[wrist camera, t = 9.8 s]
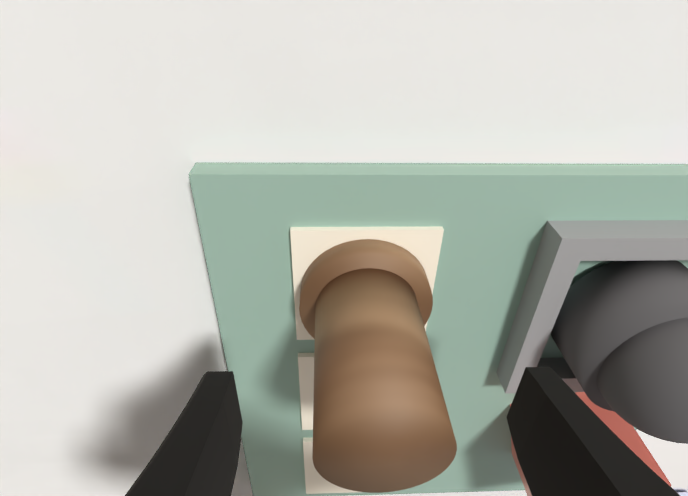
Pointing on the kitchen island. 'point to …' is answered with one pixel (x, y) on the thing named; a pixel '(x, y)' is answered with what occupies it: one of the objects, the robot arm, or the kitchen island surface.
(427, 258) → the board
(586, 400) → the die
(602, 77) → the kitchen island surface
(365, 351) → the flanged wooden peg
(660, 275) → the dark gray round knob
